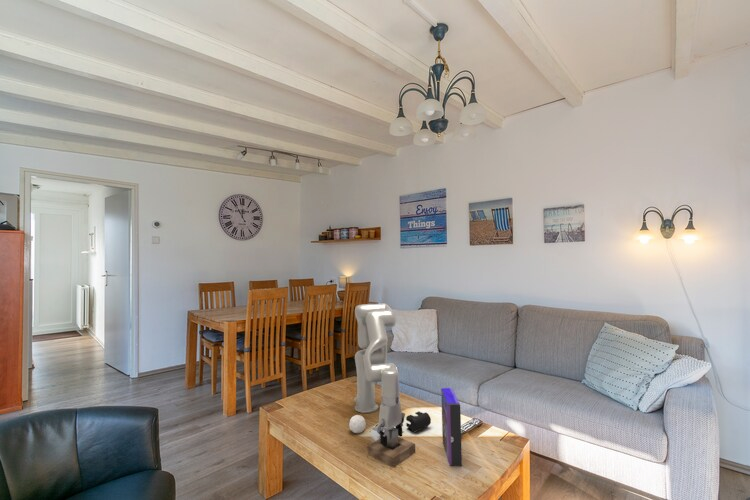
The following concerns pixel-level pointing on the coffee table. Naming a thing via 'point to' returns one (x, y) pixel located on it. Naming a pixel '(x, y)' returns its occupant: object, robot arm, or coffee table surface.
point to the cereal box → (451, 427)
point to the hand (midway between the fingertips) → (391, 439)
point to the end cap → (418, 421)
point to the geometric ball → (357, 424)
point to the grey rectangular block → (392, 438)
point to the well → (392, 451)
